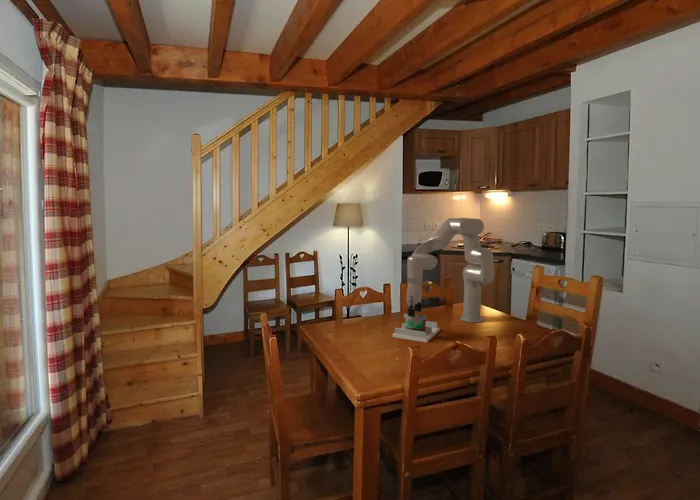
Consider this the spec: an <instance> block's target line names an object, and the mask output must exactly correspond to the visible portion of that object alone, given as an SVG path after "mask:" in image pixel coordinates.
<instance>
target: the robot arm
mask: <svg viewBox="0 0 700 500" xmlns="http://www.w3.org/2000/svg"><path fill="white" fill-rule="evenodd" d="M484 228H485V225H484V221H482V219H480V218H470V217H469V218H468V217H458V218H457V217H450V218H447V219H446V220H444V222H443V223H442V225H441V226H440V227H439V229H438V230H437V232H436V233H435V234H434V236H432V237H430V238H428V239H427V240H425V241H423V242H422V243H421V244H419V245H418V246H416V249H414V251H412V252H413V253H412V254H411V255H409V256H408V257H407V260H406V261H407V265H406V266H407V268H406V269H407V270H406V271H407V272H406V274H407V278H406V279H407V281H406V282H407V283H406V284H407V288H406V303H407V314H408V316H411V317H414V316H415V314H416V313H415V312H419V313H421V312H422V299H423V298H422V297H423V296H422V295H423V292H422V291H423V290H422V289H423V288H422V285H423V280H424V279H423V277H424V275H423V271H424V270H433V269H435V268H436V266H437V265H438V259H437V257H436V256H434V255H432V254H430V253H432V252H434V251H438V250H443V249H444V248H447V247H448V245H449V244H450V243H451V241H452V240H453V238H454V237H455V236H457V235H458V236H462V239H463V249H464V259H465V261H466V263H469V265H466V266H465V267H463V270H462V279H463V303H462V304H463V306H462V307H463V308H462V310H463V311H462V315H460V316H459V318H460V320H461V321H463V322H467V323H481V322H483V321H484V318H483V317H482V316H481V312H482V311H481V309H482V307H481V306H482V287H481V285H490V284H492V283H493V281H494V278H495V261H494V259H495V258H494V254H493V251H492V250H491V249H490V248H487V247H481V243H480V236H479V235H480V234H481V233H483V231H484Z"/></svg>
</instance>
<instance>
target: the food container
mask: <svg viewBox="0 0 700 500" xmlns="http://www.w3.org/2000/svg"><path fill="white" fill-rule="evenodd" d="M403 314H404V315H403V318H404V319H405V323H406V329H409V330H415V331H422V332H425V325H426V321H427V320H428V315H427V314H424V315H420V314H417V313H415V316H414V317H411V316H408V313H407V312H406V311H405V312H404V313H403Z"/></svg>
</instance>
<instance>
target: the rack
mask: <svg viewBox="0 0 700 500" xmlns="http://www.w3.org/2000/svg"><path fill="white" fill-rule="evenodd" d="M440 331H441V328H440V327H439V325H438V322H436V321H430V320H426V325H425V332H422V331H415V330H409V329H406V322H402V323H401V327H395V328H394V332H393V333H392V337H393V338H398V339H405V340H409V341H416V342H422V343H428V342H429V341H430V340H431V339H433V338H434V337H435V336H436V334H438V333H439V332H440Z"/></svg>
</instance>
